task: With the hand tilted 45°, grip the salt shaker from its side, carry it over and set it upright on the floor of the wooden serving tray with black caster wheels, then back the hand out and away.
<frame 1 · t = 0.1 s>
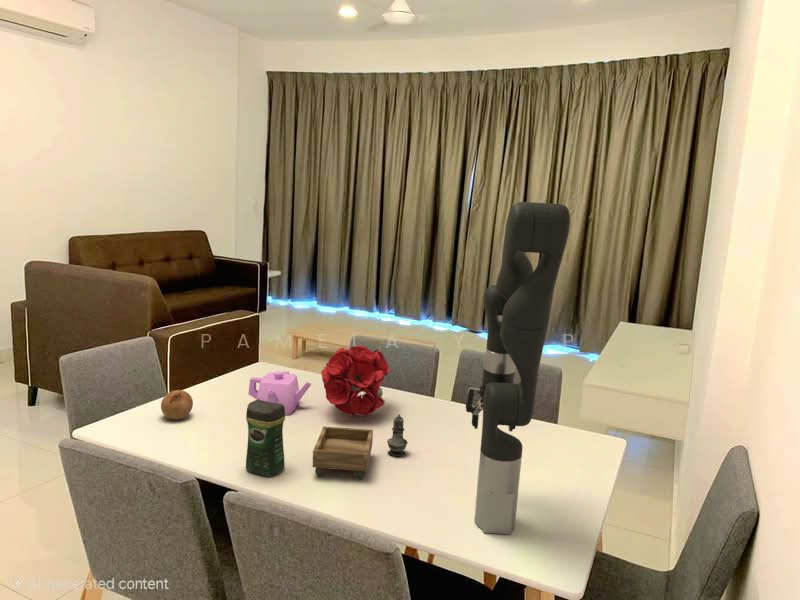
hand: (493, 428, 144), 17 cm above the table, tool pointing down, fingers open, 8 cm apart
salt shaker: (396, 454, 167), on the table
coffee jar: (265, 470, 154), on the table
onion: (177, 418, 184), on the table
bouquet: (359, 411, 198), on the table
wooden serving tray: (343, 465, 158), on the table
teakettle: (279, 408, 197), on the table
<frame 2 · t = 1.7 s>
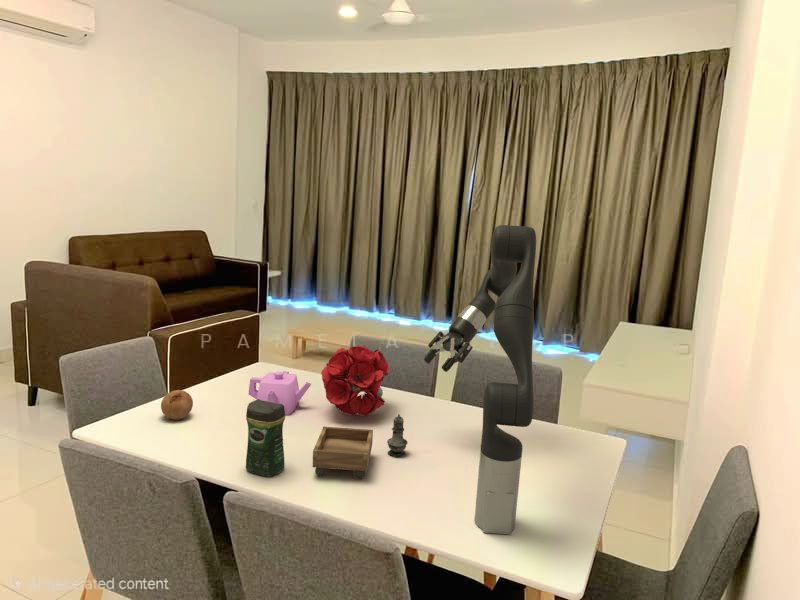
hand: (434, 365, 169), 25 cm above the table, tool tilted 45°, fingers open, 8 cm apart
nothing on the table moved.
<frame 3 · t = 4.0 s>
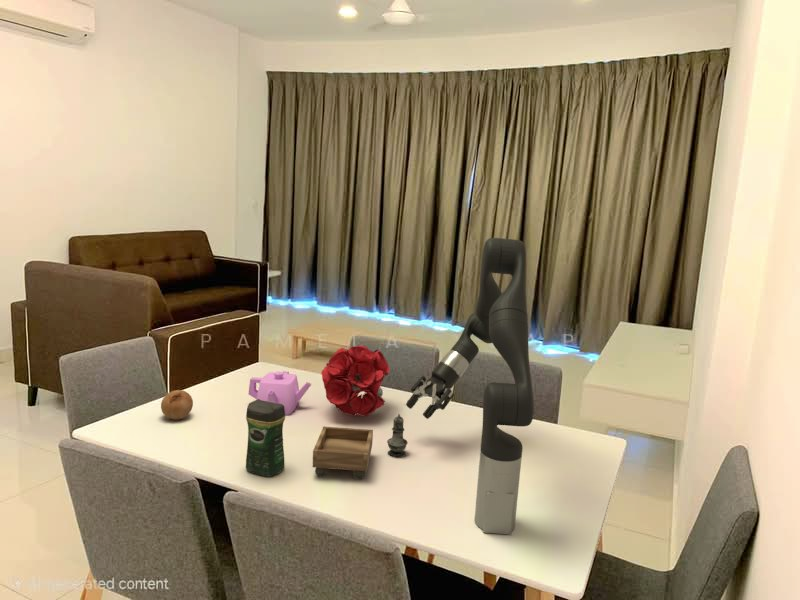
hand: (416, 411, 169), 12 cm above the table, tool tilted 45°, fingers open, 8 cm apart
nothing on the table moved.
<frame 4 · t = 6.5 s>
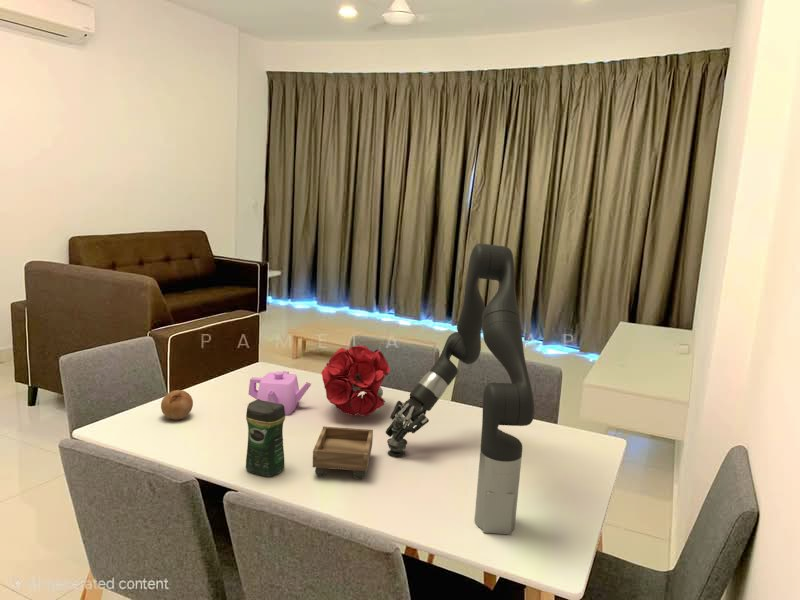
hand: (391, 437, 165), 5 cm above the table, tool tilted 45°, fingers closed on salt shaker, 3 cm apart
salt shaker: (396, 454, 167), on the table, touching gripper
everything else where it was.
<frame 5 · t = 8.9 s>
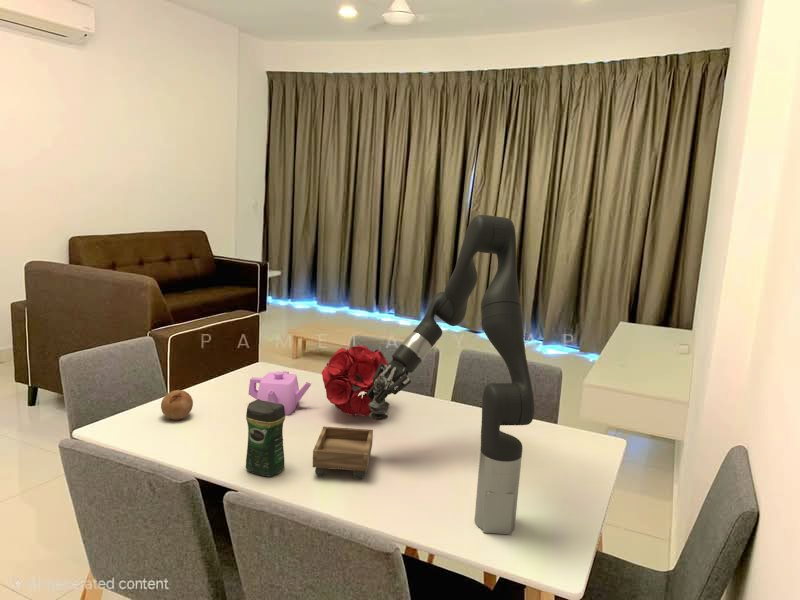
hand: (373, 399, 159), 18 cm above the table, tool tilted 45°, fingers closed on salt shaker, 3 cm apart
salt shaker: (378, 417, 161), point 12 cm above the table, touching gripper
everything else where it was.
when the fingers open (11 cm above the table, at t = 11.2 s): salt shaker stays where it is, resting on wooden serving tray.
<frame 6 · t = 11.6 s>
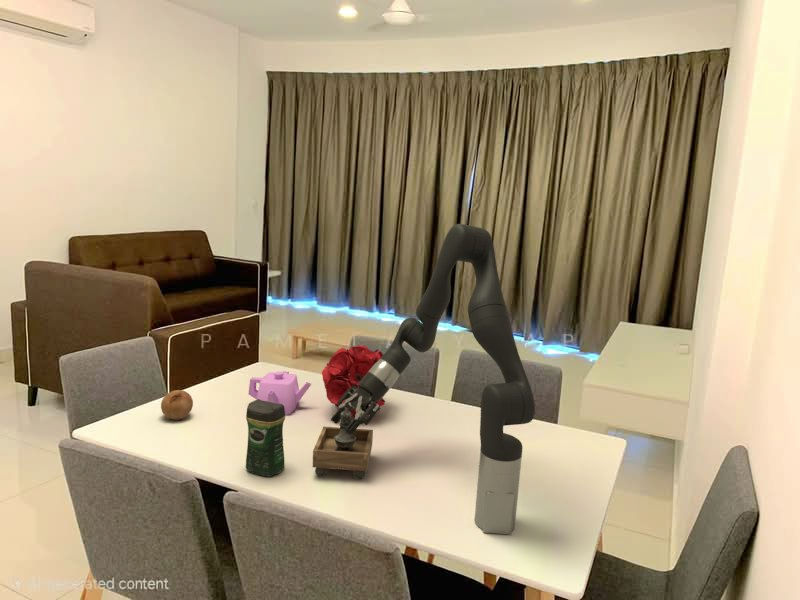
hand: (340, 427, 155), 11 cm above the table, tool tilted 45°, fingers open, 7 cm apart
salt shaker: (344, 450, 157), point 4 cm above the table, touching wooden serving tray
everything else where it was.
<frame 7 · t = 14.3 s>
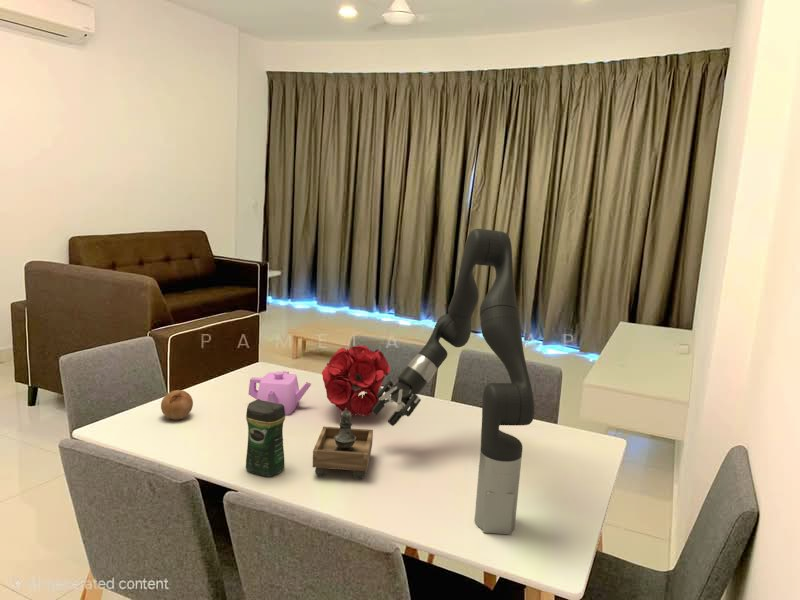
hand: (381, 418, 162), 11 cm above the table, tool tilted 45°, fingers open, 8 cm apart
nothing on the table moved.
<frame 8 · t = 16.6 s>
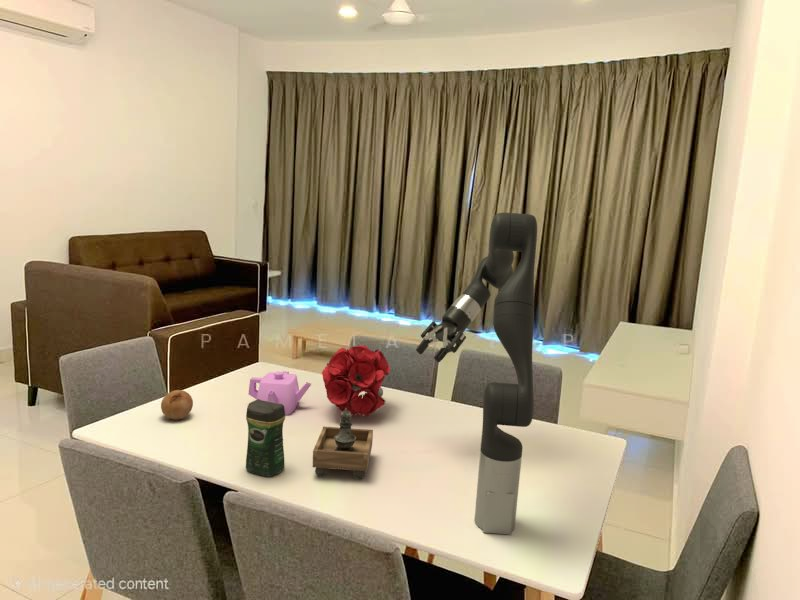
hand: (427, 356, 164), 29 cm above the table, tool tilted 45°, fingers open, 8 cm apart
nothing on the table moved.
at the end: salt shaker inside the target area on the wooden serving tray (0.1 cm from its centre), point 4.3 cm above the wooden serving tray's base; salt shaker tilted 0°; the gripper is holding nothing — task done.
